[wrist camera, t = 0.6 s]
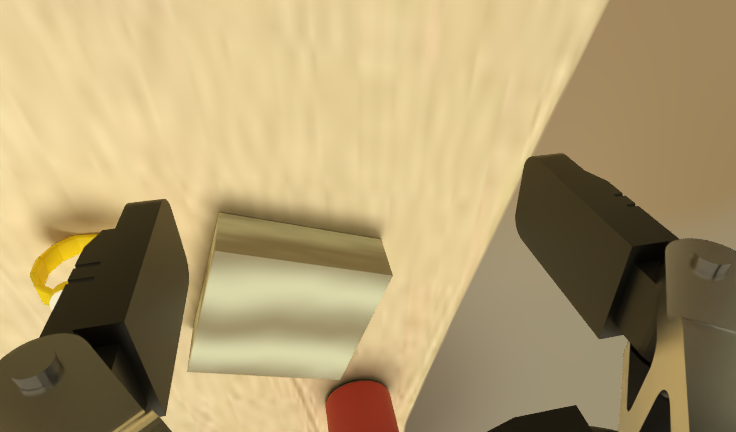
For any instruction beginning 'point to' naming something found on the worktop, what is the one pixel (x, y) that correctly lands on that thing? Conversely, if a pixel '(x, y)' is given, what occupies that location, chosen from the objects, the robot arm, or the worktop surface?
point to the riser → (285, 299)
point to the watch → (52, 260)
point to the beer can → (361, 408)
